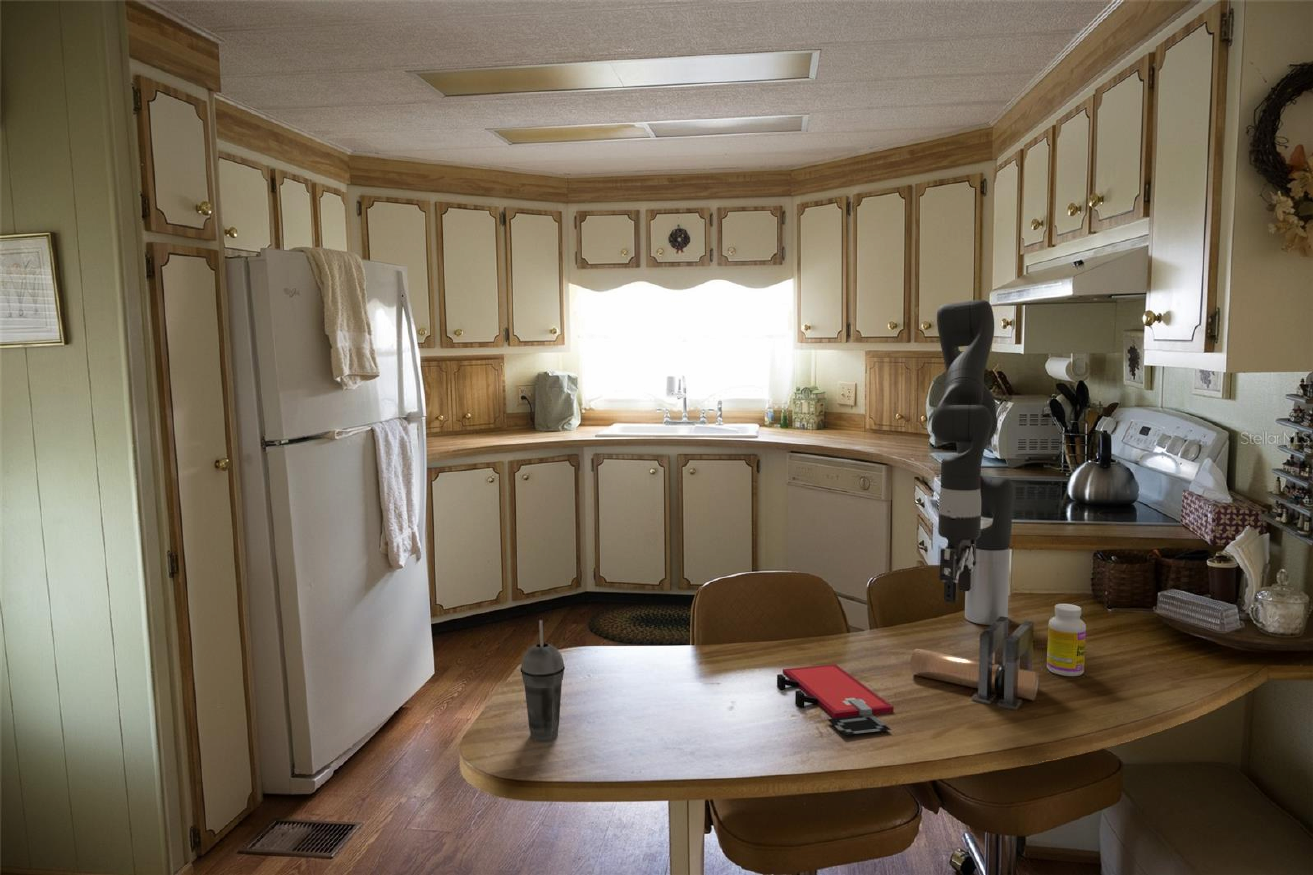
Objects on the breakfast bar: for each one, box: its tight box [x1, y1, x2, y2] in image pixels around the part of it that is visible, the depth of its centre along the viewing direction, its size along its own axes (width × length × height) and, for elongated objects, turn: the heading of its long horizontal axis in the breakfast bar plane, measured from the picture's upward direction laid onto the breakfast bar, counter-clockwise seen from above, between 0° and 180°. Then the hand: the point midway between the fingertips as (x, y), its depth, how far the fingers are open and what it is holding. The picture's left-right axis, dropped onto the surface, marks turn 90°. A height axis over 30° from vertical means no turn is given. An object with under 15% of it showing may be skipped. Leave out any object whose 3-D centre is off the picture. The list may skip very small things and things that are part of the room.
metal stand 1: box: [971, 616, 1009, 705], centre depth 167 cm, size 15×3×12 cm, turn 144°
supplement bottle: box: [1046, 603, 1087, 677], centre depth 175 cm, size 7×7×13 cm
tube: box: [909, 648, 1039, 701], centre depth 168 cm, size 22×5×5 cm, turn 54°
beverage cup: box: [520, 619, 566, 743], centre depth 149 cm, size 7×7×20 cm
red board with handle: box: [776, 663, 895, 736], centre depth 163 cm, size 30×3×15 cm
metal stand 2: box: [996, 620, 1034, 711], centre depth 164 cm, size 15×3×12 cm, turn 144°
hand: (957, 595), depth 170 cm, fingers open, 8 cm apart
